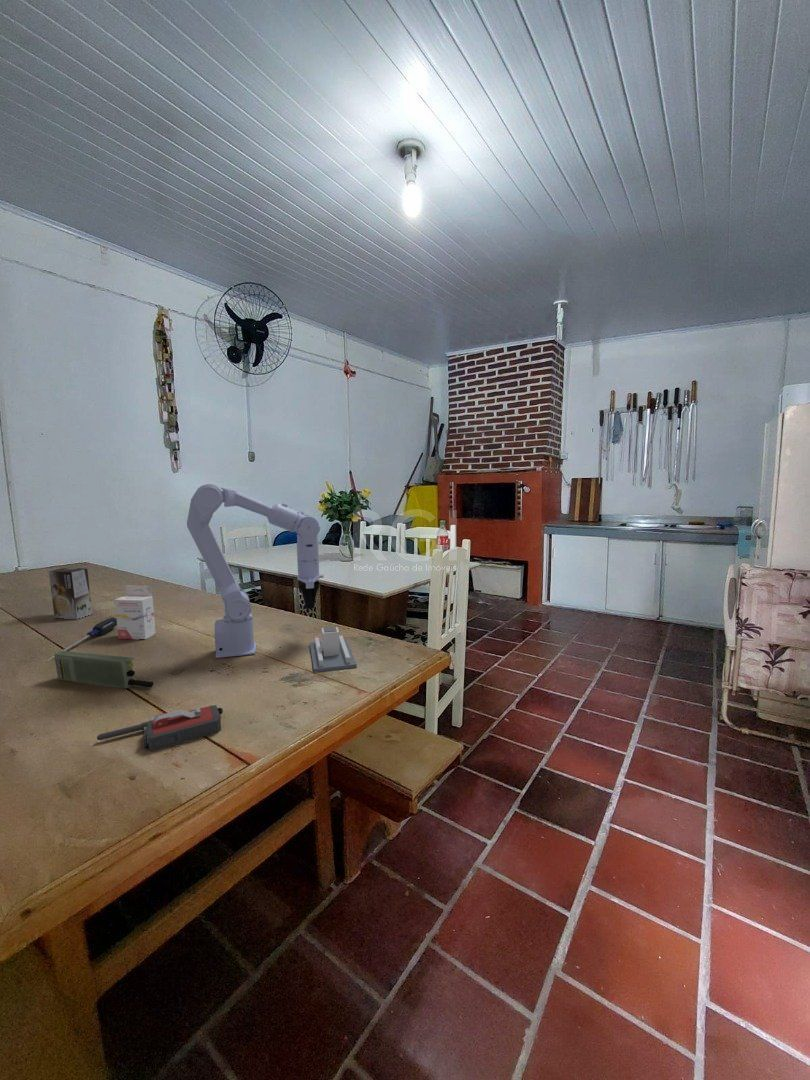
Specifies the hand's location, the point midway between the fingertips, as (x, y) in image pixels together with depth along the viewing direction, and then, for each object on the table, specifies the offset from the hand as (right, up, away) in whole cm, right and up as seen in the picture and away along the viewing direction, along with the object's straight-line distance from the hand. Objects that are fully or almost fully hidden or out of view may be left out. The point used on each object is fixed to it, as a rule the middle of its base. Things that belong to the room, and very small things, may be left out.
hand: (309, 608), depth 124 cm
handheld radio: (-40, -14, -24) cm, 49 cm away
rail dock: (+8, -11, -10) cm, 16 cm away
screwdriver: (-63, -10, +1) cm, 64 cm away
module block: (+7, -10, -10) cm, 16 cm away
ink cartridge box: (-51, -9, +6) cm, 52 cm away
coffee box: (-85, -7, +26) cm, 89 cm away
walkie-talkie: (-16, -16, -45) cm, 50 cm away
